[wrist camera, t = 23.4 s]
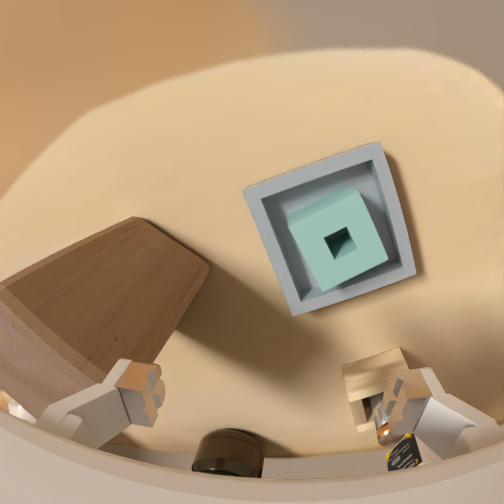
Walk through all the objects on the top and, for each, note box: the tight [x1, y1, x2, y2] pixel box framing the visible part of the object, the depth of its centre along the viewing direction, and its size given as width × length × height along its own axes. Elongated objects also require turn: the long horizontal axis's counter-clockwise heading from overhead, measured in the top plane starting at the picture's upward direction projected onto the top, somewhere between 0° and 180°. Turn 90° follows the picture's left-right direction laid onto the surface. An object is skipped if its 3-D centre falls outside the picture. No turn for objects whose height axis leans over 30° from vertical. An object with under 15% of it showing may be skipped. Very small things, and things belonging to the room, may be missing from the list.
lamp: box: [192, 430, 264, 478], centre depth 30 cm, size 10×10×22 cm
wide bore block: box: [342, 347, 409, 432], centre depth 31 cm, size 7×7×5 cm
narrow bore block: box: [288, 185, 388, 292], centre depth 26 cm, size 6×6×5 cm
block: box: [0, 216, 210, 420], centre depth 23 cm, size 10×10×20 cm
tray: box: [242, 142, 417, 316], centre depth 28 cm, size 12×12×3 cm
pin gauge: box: [369, 392, 405, 446], centre depth 29 cm, size 3×3×10 cm
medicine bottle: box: [386, 432, 442, 471], centre depth 31 cm, size 7×7×12 cm
